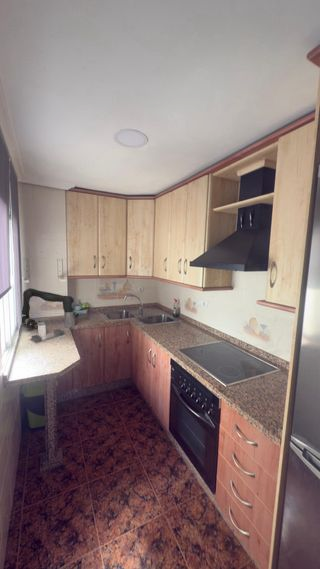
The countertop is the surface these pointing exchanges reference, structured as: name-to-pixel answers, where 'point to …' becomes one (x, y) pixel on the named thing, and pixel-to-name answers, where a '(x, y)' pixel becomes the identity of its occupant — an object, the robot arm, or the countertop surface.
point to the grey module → (41, 328)
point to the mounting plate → (47, 337)
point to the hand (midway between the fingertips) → (37, 325)
